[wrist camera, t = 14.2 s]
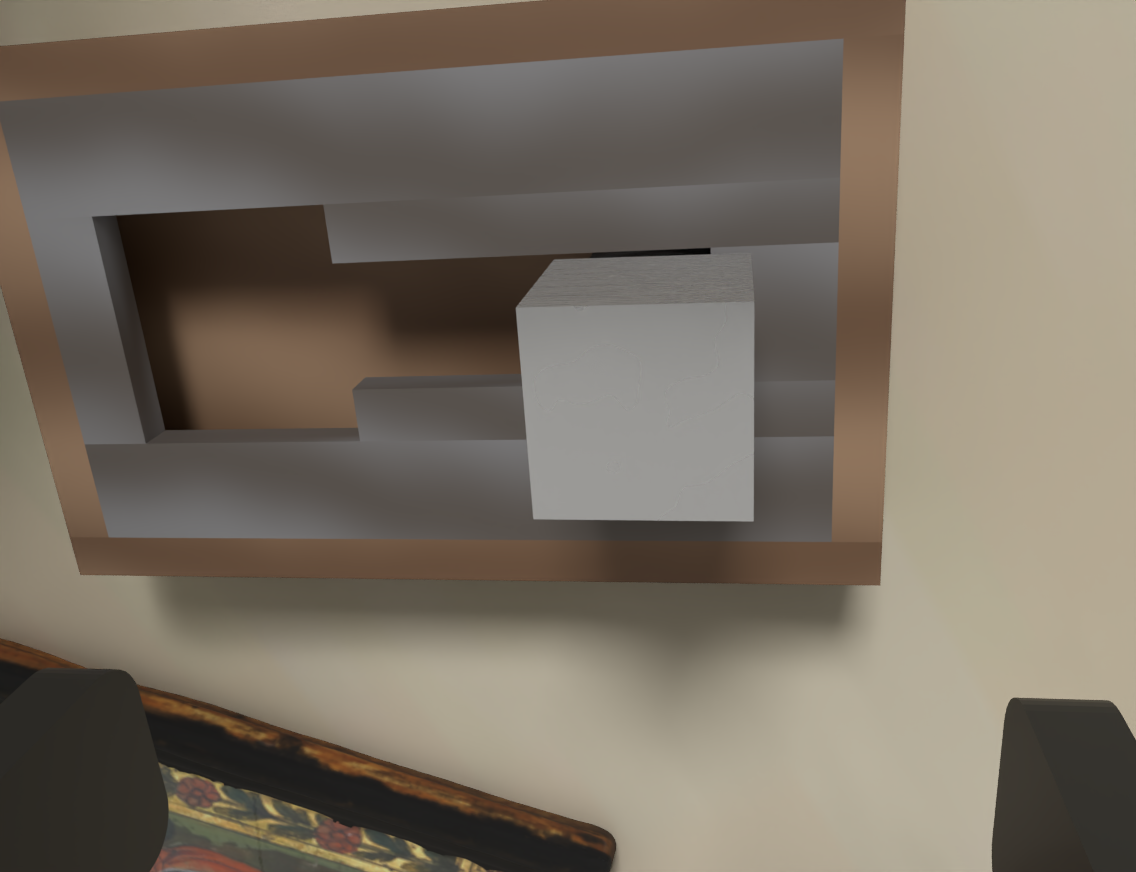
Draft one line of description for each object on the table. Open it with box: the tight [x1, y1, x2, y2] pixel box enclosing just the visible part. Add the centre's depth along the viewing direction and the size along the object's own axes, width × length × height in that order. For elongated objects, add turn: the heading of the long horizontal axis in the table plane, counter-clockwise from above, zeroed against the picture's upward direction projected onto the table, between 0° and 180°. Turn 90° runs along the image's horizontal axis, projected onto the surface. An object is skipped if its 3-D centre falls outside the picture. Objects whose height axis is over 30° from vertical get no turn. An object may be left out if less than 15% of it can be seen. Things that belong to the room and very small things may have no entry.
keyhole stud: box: [516, 248, 754, 521], centre depth 22 cm, size 4×4×10 cm
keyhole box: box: [0, 0, 906, 585], centre depth 27 cm, size 14×22×4 cm, turn 94°
